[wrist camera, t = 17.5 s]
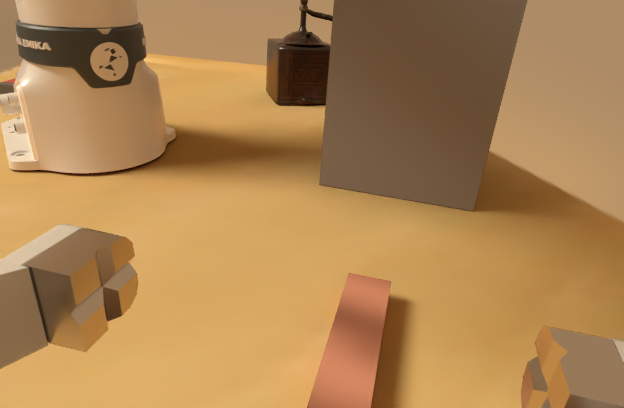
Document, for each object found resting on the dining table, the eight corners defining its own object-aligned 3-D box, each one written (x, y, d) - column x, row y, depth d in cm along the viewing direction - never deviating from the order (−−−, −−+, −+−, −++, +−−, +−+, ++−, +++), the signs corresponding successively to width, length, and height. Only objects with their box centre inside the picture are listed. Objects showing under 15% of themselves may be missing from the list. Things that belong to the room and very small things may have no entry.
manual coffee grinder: (277, 106, 76) (281, -13, 67) (264, 90, 85) (266, -17, 77) (364, 105, 80) (377, -7, 72) (342, 90, 89) (352, -11, 81)
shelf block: (478, 214, 45) (560, -97, 33) (313, 185, 49) (335, -106, 37) (471, 156, 60) (527, -74, 48) (345, 138, 63) (368, -81, 52)
